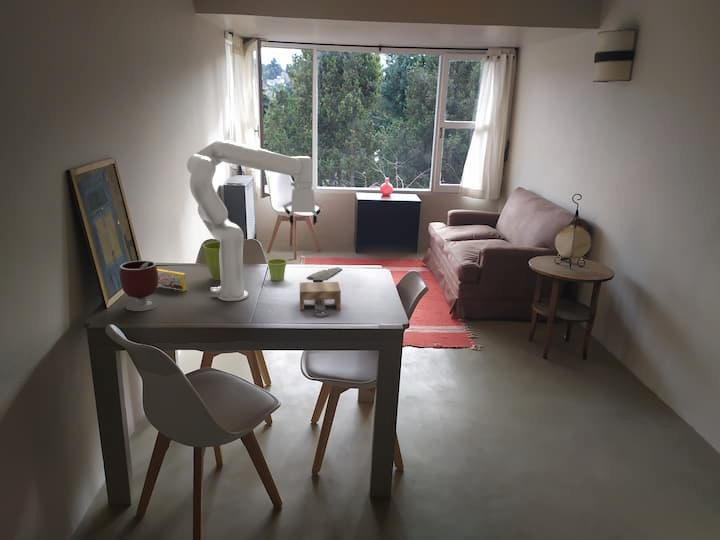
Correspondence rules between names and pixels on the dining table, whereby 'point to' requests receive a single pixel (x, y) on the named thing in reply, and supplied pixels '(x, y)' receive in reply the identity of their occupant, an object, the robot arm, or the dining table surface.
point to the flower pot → (213, 258)
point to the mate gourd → (139, 280)
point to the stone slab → (325, 273)
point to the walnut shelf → (320, 292)
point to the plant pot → (277, 268)
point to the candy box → (171, 279)
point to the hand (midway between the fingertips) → (303, 224)
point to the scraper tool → (319, 303)
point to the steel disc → (321, 313)
